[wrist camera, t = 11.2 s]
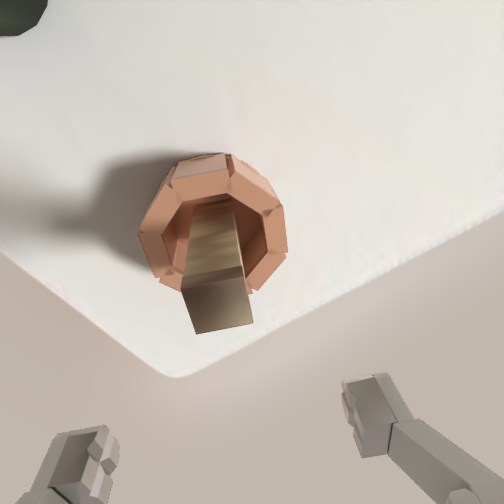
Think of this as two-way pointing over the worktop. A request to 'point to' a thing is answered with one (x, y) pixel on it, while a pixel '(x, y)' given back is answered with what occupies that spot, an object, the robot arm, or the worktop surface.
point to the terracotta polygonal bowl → (209, 190)
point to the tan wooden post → (215, 270)
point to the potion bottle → (20, 15)
